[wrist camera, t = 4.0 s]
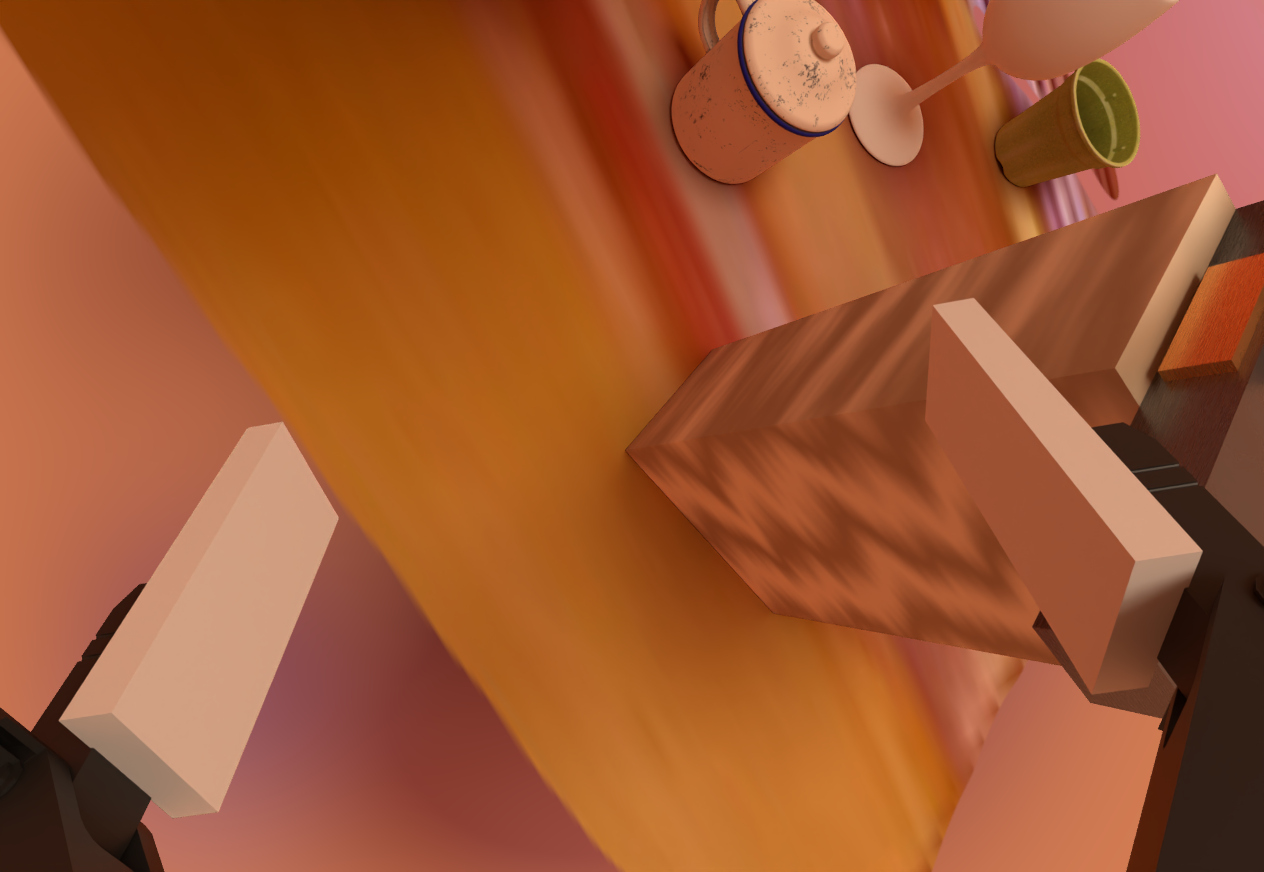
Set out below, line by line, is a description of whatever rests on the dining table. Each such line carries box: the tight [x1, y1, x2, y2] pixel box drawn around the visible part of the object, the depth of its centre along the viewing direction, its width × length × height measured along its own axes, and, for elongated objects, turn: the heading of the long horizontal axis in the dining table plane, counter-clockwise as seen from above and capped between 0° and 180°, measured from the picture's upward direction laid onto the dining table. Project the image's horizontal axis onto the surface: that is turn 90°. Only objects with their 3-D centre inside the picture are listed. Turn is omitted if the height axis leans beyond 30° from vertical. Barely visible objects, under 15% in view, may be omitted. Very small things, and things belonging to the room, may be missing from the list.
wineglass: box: [849, 0, 1179, 166], centre depth 53 cm, size 9×9×21 cm
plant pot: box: [995, 58, 1140, 187], centre depth 66 cm, size 9×9×9 cm
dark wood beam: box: [1032, 201, 1264, 719], centre depth 20 cm, size 3×18×4 cm, turn 137°
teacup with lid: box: [672, 0, 857, 184], centre depth 48 cm, size 12×9×12 cm
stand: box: [625, 174, 1236, 666], centre depth 37 cm, size 16×10×32 cm, turn 47°
